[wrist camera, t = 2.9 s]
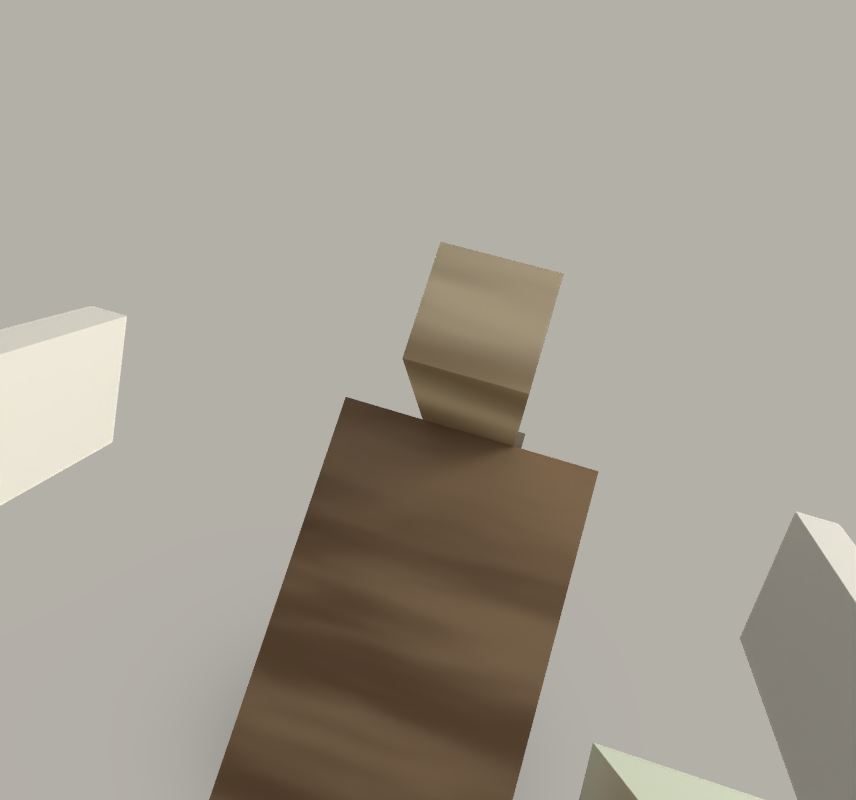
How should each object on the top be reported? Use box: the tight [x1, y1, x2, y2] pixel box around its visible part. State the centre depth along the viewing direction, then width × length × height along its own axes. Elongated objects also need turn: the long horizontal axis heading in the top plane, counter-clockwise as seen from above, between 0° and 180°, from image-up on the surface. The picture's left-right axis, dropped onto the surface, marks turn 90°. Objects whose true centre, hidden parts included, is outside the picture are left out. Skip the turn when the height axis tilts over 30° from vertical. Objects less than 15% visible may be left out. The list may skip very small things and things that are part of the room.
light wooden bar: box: [403, 242, 563, 449], centre depth 31 cm, size 21×4×4 cm, turn 176°
